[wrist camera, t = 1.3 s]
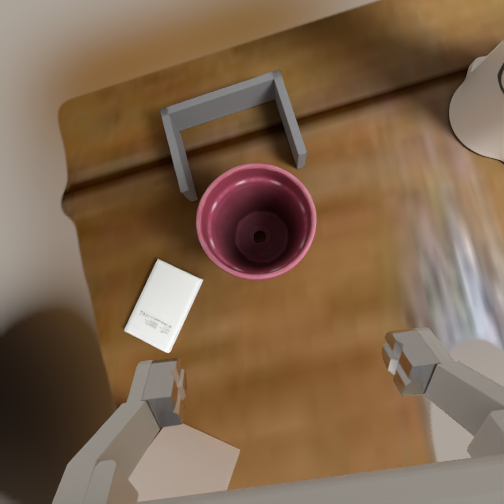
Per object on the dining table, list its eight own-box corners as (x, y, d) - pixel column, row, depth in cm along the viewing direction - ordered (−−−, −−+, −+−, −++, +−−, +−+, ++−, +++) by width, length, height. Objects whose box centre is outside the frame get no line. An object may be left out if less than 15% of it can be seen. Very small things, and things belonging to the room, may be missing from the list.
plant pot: (311, 198, 47) (322, 165, 34) (303, 286, 45) (311, 286, 33) (223, 191, 49) (202, 158, 36) (213, 277, 47) (187, 272, 34)
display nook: (279, 91, 50) (279, 69, 45) (304, 166, 48) (306, 152, 43) (171, 126, 51) (159, 109, 46) (191, 202, 49) (180, 192, 44)
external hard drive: (204, 279, 48) (171, 351, 47) (161, 259, 49) (127, 329, 48) (201, 279, 46) (167, 353, 45) (156, 258, 47) (122, 330, 46)
